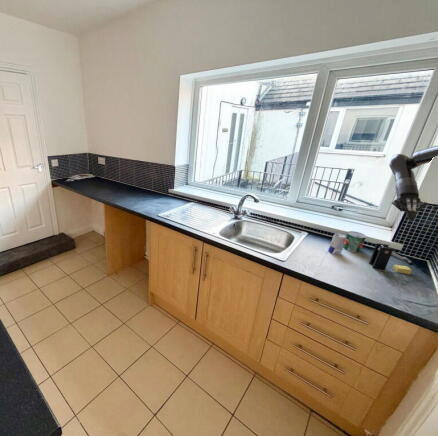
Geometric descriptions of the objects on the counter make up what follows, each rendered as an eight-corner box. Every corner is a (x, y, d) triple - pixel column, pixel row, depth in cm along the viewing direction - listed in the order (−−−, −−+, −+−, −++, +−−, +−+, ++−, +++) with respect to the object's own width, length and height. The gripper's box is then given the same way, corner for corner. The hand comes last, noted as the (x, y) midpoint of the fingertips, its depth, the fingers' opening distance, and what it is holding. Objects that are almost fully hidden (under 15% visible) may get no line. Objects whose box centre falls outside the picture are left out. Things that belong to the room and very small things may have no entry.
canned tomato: (338, 247, 139) (344, 230, 135) (354, 249, 138) (360, 231, 134) (345, 254, 132) (352, 236, 128) (362, 256, 131) (369, 238, 126)
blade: (404, 261, 115) (408, 257, 114) (410, 266, 111) (415, 262, 110) (375, 247, 118) (379, 243, 117) (381, 252, 113) (385, 248, 112)
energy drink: (328, 251, 135) (335, 232, 130) (340, 255, 131) (347, 235, 127) (326, 255, 131) (333, 235, 127) (338, 258, 128) (345, 238, 123)
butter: (405, 271, 116) (407, 266, 115) (409, 275, 113) (412, 270, 112) (392, 269, 118) (394, 264, 117) (396, 272, 114) (398, 268, 113)
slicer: (384, 267, 120) (393, 244, 116) (392, 275, 113) (403, 251, 109) (359, 263, 124) (367, 240, 119) (366, 271, 117) (375, 247, 112)
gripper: (394, 183, 121) (399, 213, 115) (429, 185, 117) (436, 217, 110) (385, 191, 128) (389, 220, 121) (418, 193, 124) (424, 224, 117)
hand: (411, 218), depth 116 cm, fingers closed
